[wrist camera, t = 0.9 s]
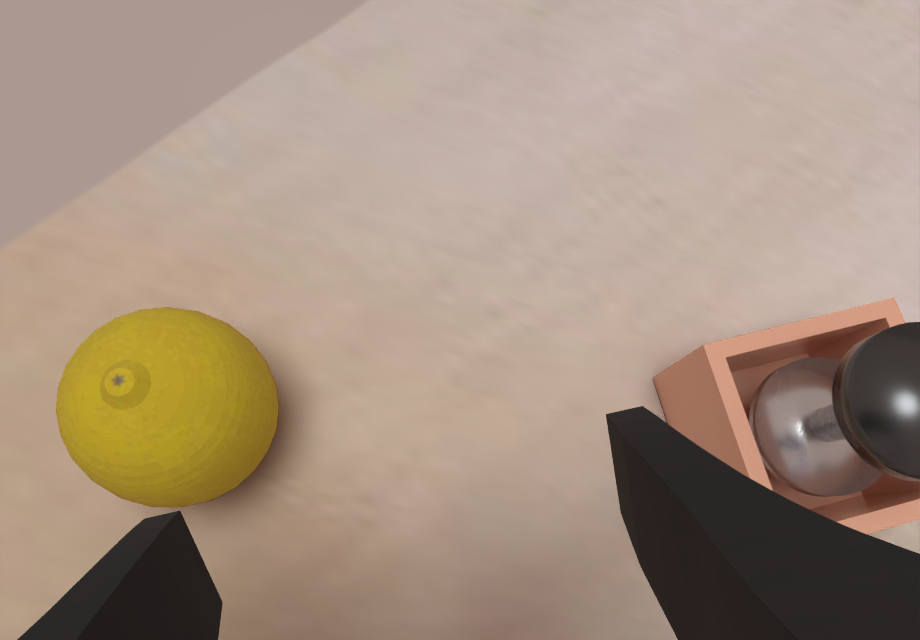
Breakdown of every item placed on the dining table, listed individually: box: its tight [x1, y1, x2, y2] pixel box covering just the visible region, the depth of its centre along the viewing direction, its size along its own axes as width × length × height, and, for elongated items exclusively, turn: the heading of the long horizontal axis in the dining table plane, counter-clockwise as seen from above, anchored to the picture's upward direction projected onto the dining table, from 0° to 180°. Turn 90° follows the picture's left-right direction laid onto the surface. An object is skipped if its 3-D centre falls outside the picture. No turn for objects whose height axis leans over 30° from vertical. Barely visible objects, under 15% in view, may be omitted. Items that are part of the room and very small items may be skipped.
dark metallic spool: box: [749, 322, 920, 497], centre depth 19 cm, size 4×4×5 cm
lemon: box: [56, 307, 279, 507], centre depth 21 cm, size 6×6×8 cm
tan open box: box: [653, 298, 920, 534], centre depth 23 cm, size 6×8×5 cm
